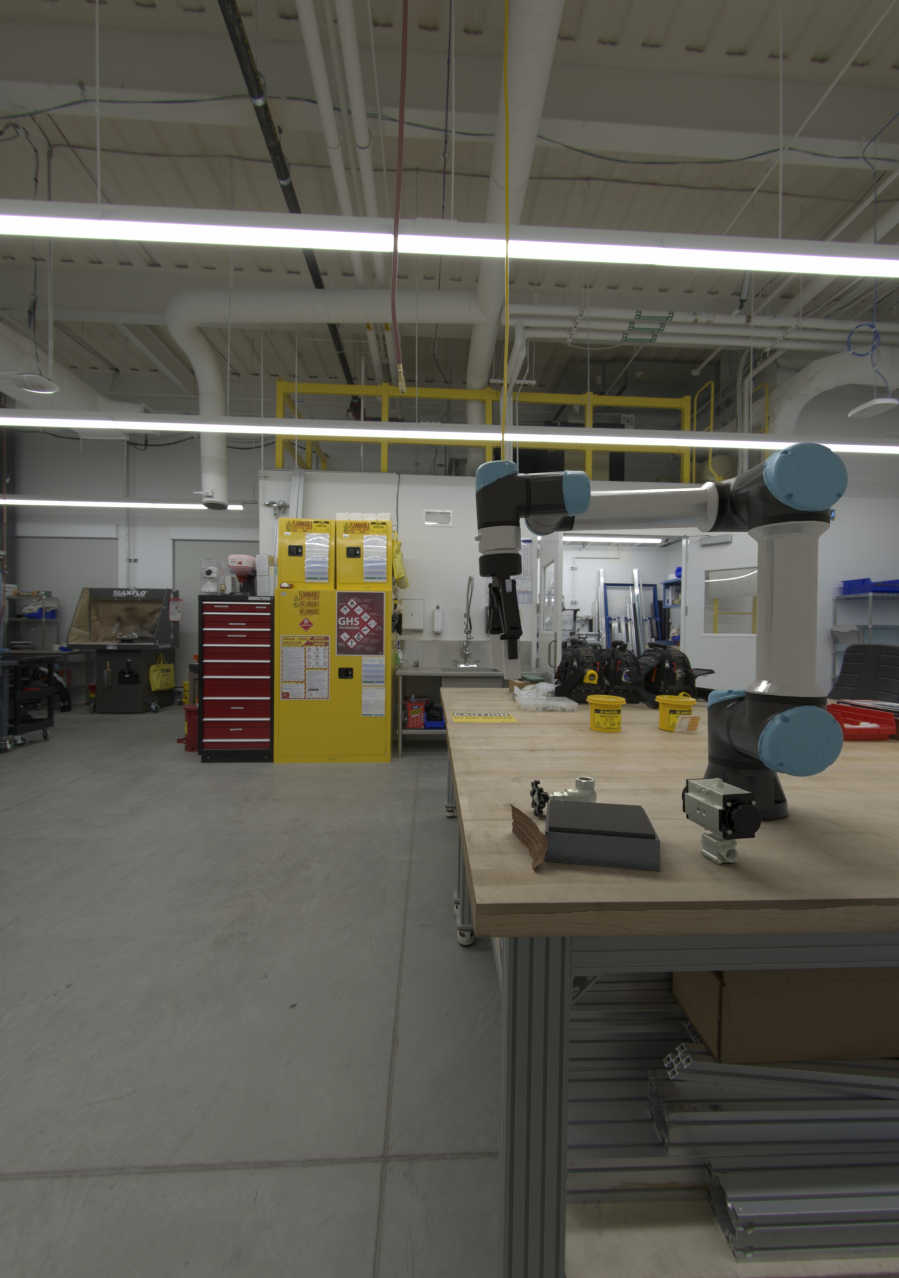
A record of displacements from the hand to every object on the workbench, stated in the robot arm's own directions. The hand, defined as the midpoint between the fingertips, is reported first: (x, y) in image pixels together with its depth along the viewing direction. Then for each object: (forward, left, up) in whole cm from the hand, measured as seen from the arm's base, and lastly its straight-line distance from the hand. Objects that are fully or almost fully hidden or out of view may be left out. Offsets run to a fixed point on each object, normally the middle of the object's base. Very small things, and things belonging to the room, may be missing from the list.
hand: (505, 673), depth 91 cm
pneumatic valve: (-32, +9, -27) cm, 43 cm away
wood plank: (-4, +11, -27) cm, 30 cm away
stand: (-15, +8, -27) cm, 32 cm away
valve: (-11, -7, -27) cm, 30 cm away
